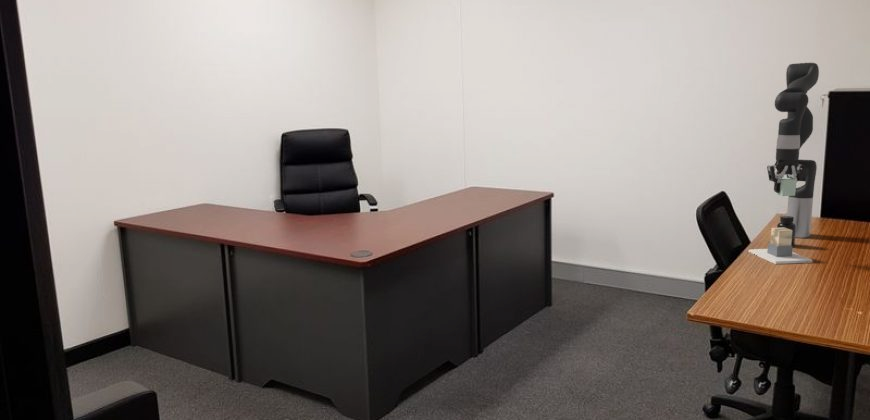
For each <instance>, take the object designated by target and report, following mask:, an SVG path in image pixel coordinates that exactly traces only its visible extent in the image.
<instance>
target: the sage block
mask: <svg viewBox="0 0 870 420" xmlns="http://www.w3.org/2000/svg"><path fill="white" fill-rule="evenodd" d="M780 183H781V185H780V193H776V192H775V191H774V190H773V191H774V192H773V194H774V195H777V196H780V197H788V196H795V190H796V188H797V182H796V179H790V178H787V177H783V178H782V179H781V182H780Z"/></svg>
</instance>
